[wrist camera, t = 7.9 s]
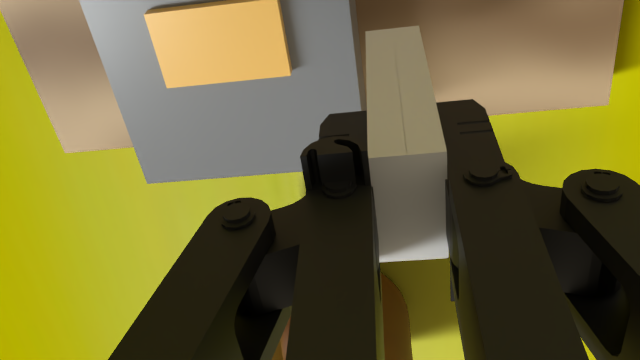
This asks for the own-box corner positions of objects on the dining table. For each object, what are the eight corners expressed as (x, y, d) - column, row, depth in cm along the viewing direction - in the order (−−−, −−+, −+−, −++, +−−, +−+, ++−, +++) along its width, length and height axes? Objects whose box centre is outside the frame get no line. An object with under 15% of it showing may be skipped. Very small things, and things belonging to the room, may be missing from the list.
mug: (235, 191, 28) (185, 349, 20) (394, 176, 27) (404, 338, 19) (284, 354, 35) (260, 520, 27) (413, 348, 34) (426, 518, 26)
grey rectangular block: (367, 117, 23) (367, 172, 20) (173, 134, 24) (144, 190, 21) (347, -71, 19) (343, -40, 16) (117, -40, 20) (70, -5, 17)
